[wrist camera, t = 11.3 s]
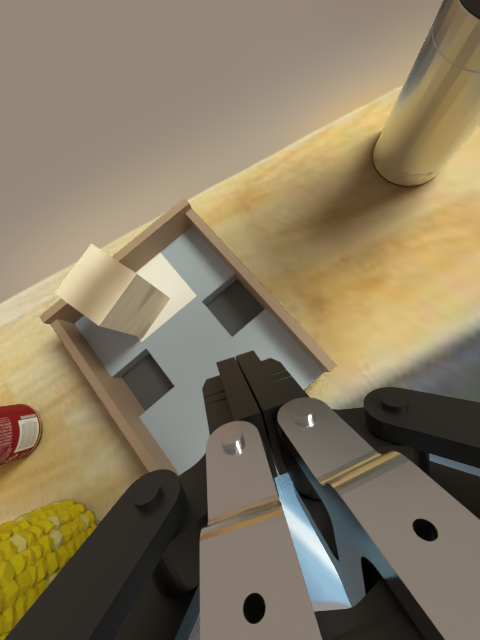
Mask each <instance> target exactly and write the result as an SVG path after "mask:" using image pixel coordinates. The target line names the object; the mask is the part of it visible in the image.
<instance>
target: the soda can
mask: <svg viewBox="0 0 480 640" xmlns="http://www.w3.org/2000/svg"><path fill="white" fill-rule="evenodd" d="M41 430H42V425H41V420H40V417H39V415H38V413H37V412H36V411H35V410H34V409H33V408H32V407H30V406H28V405H25V404H17V405H9V406H1V407H0V465H2V464H5V463H8V462H10V461H13V460H16V459H19V458H22V457H24V456H26V455H27V454H29V453H30V452H31V451H32V450H33V449H34V448H35V447H36V445H37V443H38V441H39V439H40V436H41Z"/></svg>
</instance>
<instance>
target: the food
mask: <svg viewBox="0 0 480 640" xmlns="http://www.w3.org/2000/svg"><path fill="white" fill-rule="evenodd" d="M95 521H96V520H95V516H94V513H93V512H91V511H89V510H87V511H86V510H85V506H84V504H80V503H79V504H74V502H73V500H67V501H62V502H53V503H50V504H49V505H47V506H43V507H41V508H40V509H35V510H33V511H32V512H31V513H28V514H25V515H21V516H19V517H18V518H17V519H16V520H14V521H13V522H12V521H10V522H6V523H3V524H2V525H1V526H0V640H4V639H5V638H6V636H7V635H8V634H9V633H10V632H11V630H12V629H13V628H14V627H15V625H16V624H17V623H18V622H19V621H20V619H21V618H22V617H23V616H24V615H25V613H26V612H27V611H28V610H29V608H30V607H31V606H32V605H33V604H34V602H35V601H36V600H37V599H38V597H39V596H40V595H41V594H42V593H43V591H44V590H45V589H46V588H47V587H48V585H49V584H50V583H51V582H52V580H53V579H54V578H55V577H56V576H57V574H58V573H59V572H60V571H61V570H62V568H63V567H64V566H65V565H66V563H67V562H68V561H69V560H70V559H71V557H72V556H73V555H74V554H75V552H76V551H77V550H78V549H79V548H80V546H81V545H82V544H83V543H84V542H85V540H86V539H87V538H88V537H89V535H90V534H91V533H92V532H93V531H94V529H95V528H96V527H97V525H96V524H95Z"/></svg>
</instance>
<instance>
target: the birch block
mask: <svg viewBox="0 0 480 640" xmlns="http://www.w3.org/2000/svg"><path fill="white" fill-rule="evenodd" d="M55 294H56V295H57V296H59V297H60V298H61V299H63V300H64V301H65V302H67V303H68V304H70V305H71V306H72V307H74V308H75V309H76V310H78V311H79V312H81V313H82V314H83V315H85V316H86V317H87V318H89V319H90V320H92V321H93V322H94V323H96V324H97V325H98V326H101V327H105V328H108V329H112V330H116V331H120V332H123V333H127V334H131V335H135V336H138V337H142V338H143V337H144V336H145V334H146V333H147V331H148V330H149V328H150V327H151V326H152V324H153V323H154V321H155V320H156V318H157V317H158V316H159V314H160V313H161V311H162V310H163V309H164V307H165V306H166V304H167V303H168V301H169V300H170V299H171V298H169V297H168V296H167V295H165V294H164V293H162V292H161V291H160V290H158V289H157V288H156V287H154V286H153V285H152V284H150V283H149V282H148V281H146V280H145V279H143V278H142V277H141V276H139V275H138V274H137V273H135V272H134V271H132V270H131V269H129V268H128V267H126V266H124V265H123V264H121V263H120V262H118V261H117V260H115V259H114V258H112V257H111V256H109V255H108V254H106V253H105V252H103V251H102V250H100V249H99V248H97V247H95V246H94V245H92V244H91V245H90V246H89V248H88V249H87V250H86V252H85V253H84V254H83V256H82V257H81V258H80V260H79V261H78V262H77V264H76V265H75V266H74V267H73V269H72V270H71V271H70V273H69V274H68V275H67V277H66V278H65V279H64V281H63V282H62V283H61V285H60V286H59V287H58V289H57V290H56V291H55Z"/></svg>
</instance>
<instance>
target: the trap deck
mask: <svg viewBox="0 0 480 640" xmlns="http://www.w3.org/2000/svg"><path fill="white" fill-rule="evenodd" d="M112 258H114V259H115V260H117V261H118V262H120V263H121V264H123V265H124V266H126V267H128V268H129V269H131V270H132V271H134V272H135V273H137V274H138V275H139V276H141V277H142V278H143V279H145V280H146V281H148V282H149V283H150V284H152V285H153V286H154V287H156V288H157V289H158V290H160V291H161V292H162V293H164V294H165V295H167V296H168V297H169V298H171V299H170V300H169V301H168V303H167V304H166V306H165V307H164V309H163V310H162V311H161V313H160V314H159V316H158V317H157V318H156V320H155V321H154V323H153V324H152V326H151V327H150V328H149V330H148V331H147V333H146V334H145V336H144V337H143V338H142V337H138V336H135V335H131V334H127V333H123V332H120V331H116V330H112V329H108V328H105V327H101V326H98V325H97V324H96V323H94V322H93V321H92V320H90V319H89V318H87V317H86V316H85V315H83V314H82V313H81V312H79V311H78V310H76V309H75V308H74V307H72V306H71V305H70V304H68V303H67V302H65V301H64V300H63V299H60V300H59V301H58V302H56V303H55V304H54V305H53V306H51V307H50V308H49V309H48V310H47V311H45V312H44V313H43V314H42V315H41V316H39V317H40V318H41V320H42V321H43V323H46V324H50V325H51V326H52V328H53V329H54V331H55V332H56V334H57V335H58V337H59V338H60V340H61V341H62V343H63V344H64V346H65V347H66V349H67V350H68V352H69V353H70V355H71V356H72V358H73V359H74V361H75V362H76V364H77V365H78V367H79V368H80V370H81V371H82V373H83V374H84V376H85V377H86V379H87V380H88V382H89V383H90V385H91V386H92V388H93V389H94V391H95V392H96V394H97V395H98V397H99V398H100V400H101V401H102V403H103V404H104V406H105V407H106V409H107V410H108V412H109V413H110V415H111V416H112V418H113V419H114V421H115V422H116V424H117V425H118V427H119V428H120V430H121V431H122V433H123V434H124V436H125V437H126V439H127V440H128V442H129V443H130V445H131V446H132V448H133V449H134V451H135V452H136V454H137V455H138V457H139V458H140V460H141V461H142V463H143V464H144V466H145V467H146V469H147V470H148V472H152V471H155V470H159V469H167V470H171V471H173V472H174V473H176V475H177V476H179V475H181V474H182V473H183V472H185V471H186V470H188V469H189V468H191V467H192V466H193V465H195V464H196V463H197V462H198V461H199V460H200V459H201V458H202V457H203V456H204V454H205V453H206V444H207V441H208V439H209V437H210V434H209V428H208V422H207V416H206V410H205V404H204V398H203V392H202V388H203V385H204V383H205V381H206V379H209V378H212V377H215V376H218V375H220V374H219V370H218V367H217V364H216V362H219V361H222V360H225V359H228V358H231V357H235V356H237V355H240V354H243V353H246V352H249V351H252V350H254V352H255V353H256V354H257V356H258V357H259V359H260V360H261V361H262V360H265V359H268V358H272V359H274V360H277V361H279V362H281V363H282V364H283V366H284V367H285V368H286V370H287V371H288V372H289V373H290V374H291V376H292V377H293V378H294V379H295V380H296V381H297V383H298V384H299V385H300V386H301V388H302V389H303V390H304V389H305V388H307V387H308V386H309V385H310V384H311V383H312V382H313V381H314V380H316V379H317V378H318V377H319V376H320V375H321V374H322V373H324V372H330V371H332V370H333V369H334V368H335V367H336V366H337V365H336V364H335V363H334V362H333V361H332V360H331V358H330V357H329V356H328V355H327V354H326V353H325V352H324V351H323V350H322V349H321V348H320V347H319V345H318V344H317V343H316V342H315V341H314V340H313V339H312V338H311V337H310V336H309V335H308V334H307V332H306V331H305V330H304V329H303V328H302V327H301V326H300V325H299V324H298V323H297V322H296V321H295V319H294V318H293V317H292V316H291V315H290V314H289V313H288V312H287V311H286V310H285V309H284V308H283V307H282V305H281V304H280V303H279V302H278V301H277V300H276V299H275V298H274V297H273V296H272V295H271V294H270V292H269V291H268V290H267V289H266V288H265V287H264V286H263V285H262V284H261V283H260V282H259V281H258V279H257V278H256V277H255V276H254V275H253V274H252V273H251V272H250V271H249V270H248V269H247V268H246V266H245V265H244V264H243V263H242V262H241V261H240V260H239V259H238V258H237V257H236V256H235V255H234V254H233V252H232V251H231V250H230V249H229V248H228V247H227V246H226V245H225V244H224V243H223V242H222V241H221V239H220V238H219V237H218V236H217V235H216V234H215V233H214V232H213V231H212V230H211V229H210V228H209V226H208V225H207V224H206V223H205V222H204V221H203V220H202V219H201V218H200V217H199V216H198V215H197V213H196V212H195V211H194V210H193V209H192V208H191V206H190V204H189V202H188V201H187V200H186V199H185V198H183V199H182V200H181V201H180V202H178V203H177V204H176V205H175V206H173V207H172V208H171V209H170V210H169V211H167V212H166V213H165V214H164V215H162V216H161V217H160V218H159V219H158V220H156V221H155V222H154V223H153V224H151V225H150V226H149V227H148V228H147V229H145V230H144V231H143V232H142V233H141V234H139V235H138V236H137V237H136V238H134V239H133V240H132V241H131V242H130V243H128V244H127V245H126V246H125V247H123V248H122V249H121V250H120V251H119V252H117V253H116V254H115V255H114V256H112ZM235 359H236V357H235Z"/></svg>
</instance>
